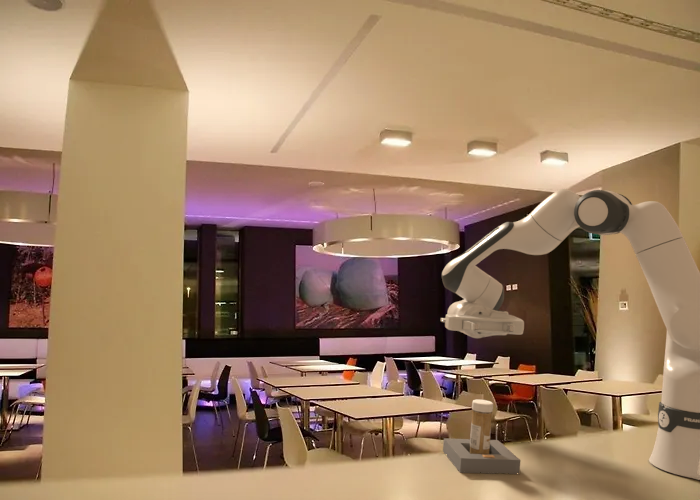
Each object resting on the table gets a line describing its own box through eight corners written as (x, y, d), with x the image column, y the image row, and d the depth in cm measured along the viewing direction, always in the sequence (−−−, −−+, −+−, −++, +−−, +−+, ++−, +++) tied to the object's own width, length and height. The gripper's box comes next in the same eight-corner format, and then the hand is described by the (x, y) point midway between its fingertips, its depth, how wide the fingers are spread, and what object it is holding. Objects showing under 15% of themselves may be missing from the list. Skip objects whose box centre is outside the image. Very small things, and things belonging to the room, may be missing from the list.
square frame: (496, 452, 141) (497, 439, 141) (519, 474, 128) (520, 459, 128) (442, 451, 139) (443, 437, 139) (459, 472, 126) (461, 457, 126)
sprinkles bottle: (491, 465, 132) (496, 404, 132) (471, 465, 131) (476, 403, 131) (484, 458, 136) (489, 399, 136) (465, 457, 136) (469, 398, 136)
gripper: (439, 307, 162) (454, 313, 148) (512, 311, 164) (533, 318, 150) (437, 330, 162) (452, 338, 148) (510, 334, 164) (531, 343, 150)
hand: (494, 328), depth 149 cm, fingers open, 8 cm apart
